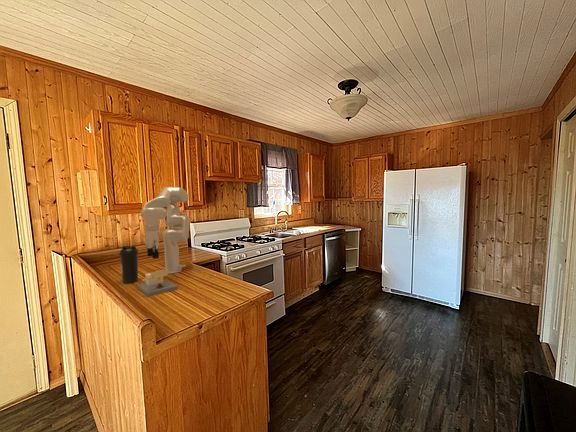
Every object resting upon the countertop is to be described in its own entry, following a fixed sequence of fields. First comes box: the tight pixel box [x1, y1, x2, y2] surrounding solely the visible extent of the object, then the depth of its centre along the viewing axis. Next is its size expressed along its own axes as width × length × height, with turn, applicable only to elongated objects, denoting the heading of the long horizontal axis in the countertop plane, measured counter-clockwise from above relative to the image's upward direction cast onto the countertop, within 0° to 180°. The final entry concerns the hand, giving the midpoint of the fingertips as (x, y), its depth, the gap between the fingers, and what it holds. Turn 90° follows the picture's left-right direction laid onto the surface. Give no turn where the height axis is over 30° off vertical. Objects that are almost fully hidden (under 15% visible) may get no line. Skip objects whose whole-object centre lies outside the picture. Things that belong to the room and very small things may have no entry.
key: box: [141, 268, 169, 287], centre depth 145 cm, size 2×14×9 cm, turn 151°
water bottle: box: [118, 245, 139, 285], centre depth 164 cm, size 10×10×23 cm
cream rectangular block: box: [144, 272, 164, 286], centre depth 154 cm, size 8×6×6 cm
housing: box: [137, 278, 179, 297], centre depth 151 cm, size 16×20×2 cm
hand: (153, 257), depth 153 cm, fingers open, 9 cm apart
